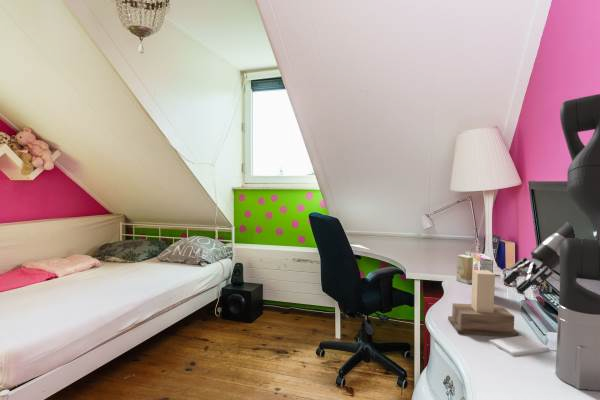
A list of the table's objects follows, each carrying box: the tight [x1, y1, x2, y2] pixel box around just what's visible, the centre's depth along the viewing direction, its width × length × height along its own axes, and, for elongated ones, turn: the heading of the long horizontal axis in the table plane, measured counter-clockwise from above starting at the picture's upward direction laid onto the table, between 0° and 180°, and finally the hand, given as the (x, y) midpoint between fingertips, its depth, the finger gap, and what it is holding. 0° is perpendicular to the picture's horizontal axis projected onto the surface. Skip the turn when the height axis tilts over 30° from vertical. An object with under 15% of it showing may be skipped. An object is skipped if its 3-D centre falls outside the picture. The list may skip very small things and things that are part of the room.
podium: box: [447, 302, 520, 338], centre depth 113 cm, size 11×17×6 cm, turn 82°
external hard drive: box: [488, 334, 550, 357], centre depth 101 cm, size 2×8×12 cm
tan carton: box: [470, 270, 496, 313], centre depth 112 cm, size 5×5×12 cm
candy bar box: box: [472, 253, 494, 274], centre depth 145 cm, size 11×5×16 cm, turn 168°
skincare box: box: [455, 254, 473, 285], centre depth 166 cm, size 6×4×12 cm
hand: (511, 286), depth 111 cm, fingers open, 8 cm apart
